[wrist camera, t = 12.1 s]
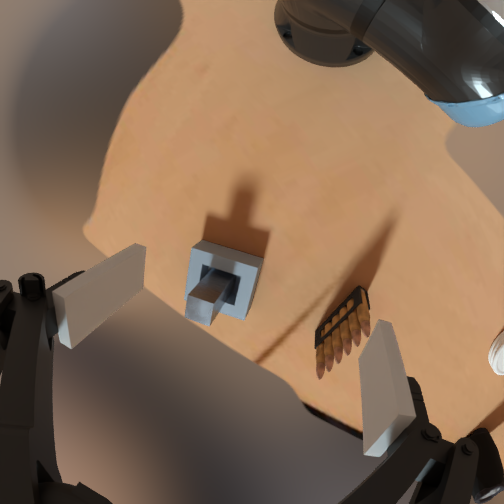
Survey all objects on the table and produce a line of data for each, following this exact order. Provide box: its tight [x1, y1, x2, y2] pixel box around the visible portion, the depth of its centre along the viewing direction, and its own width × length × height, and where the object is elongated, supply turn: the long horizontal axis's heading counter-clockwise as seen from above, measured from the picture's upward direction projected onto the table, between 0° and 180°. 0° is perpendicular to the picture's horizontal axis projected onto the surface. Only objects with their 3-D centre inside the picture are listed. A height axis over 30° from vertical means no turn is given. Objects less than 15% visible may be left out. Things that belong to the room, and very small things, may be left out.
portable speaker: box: [469, 428, 504, 504], centre depth 39 cm, size 9×9×20 cm
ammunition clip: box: [315, 286, 370, 380], centre depth 40 cm, size 11×2×12 cm, turn 147°
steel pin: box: [185, 268, 237, 326], centre depth 42 cm, size 4×4×11 cm
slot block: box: [184, 240, 264, 320], centre depth 46 cm, size 9×10×4 cm
